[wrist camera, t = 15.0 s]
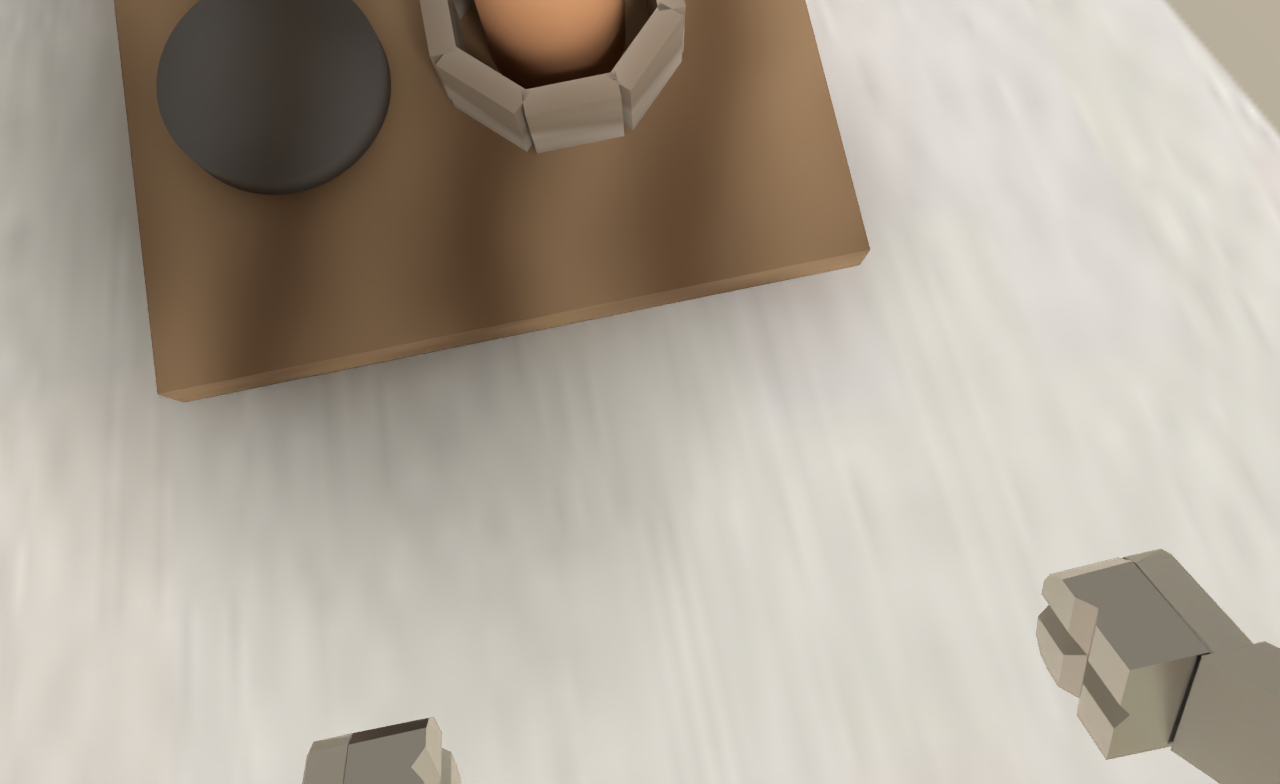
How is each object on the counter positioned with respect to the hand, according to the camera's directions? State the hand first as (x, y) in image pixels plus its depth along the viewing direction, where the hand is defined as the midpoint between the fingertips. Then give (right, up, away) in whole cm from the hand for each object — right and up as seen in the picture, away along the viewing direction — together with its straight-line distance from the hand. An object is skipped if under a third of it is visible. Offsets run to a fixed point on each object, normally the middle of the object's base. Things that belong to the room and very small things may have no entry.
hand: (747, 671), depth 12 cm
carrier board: (-7, +14, +19) cm, 24 cm away
